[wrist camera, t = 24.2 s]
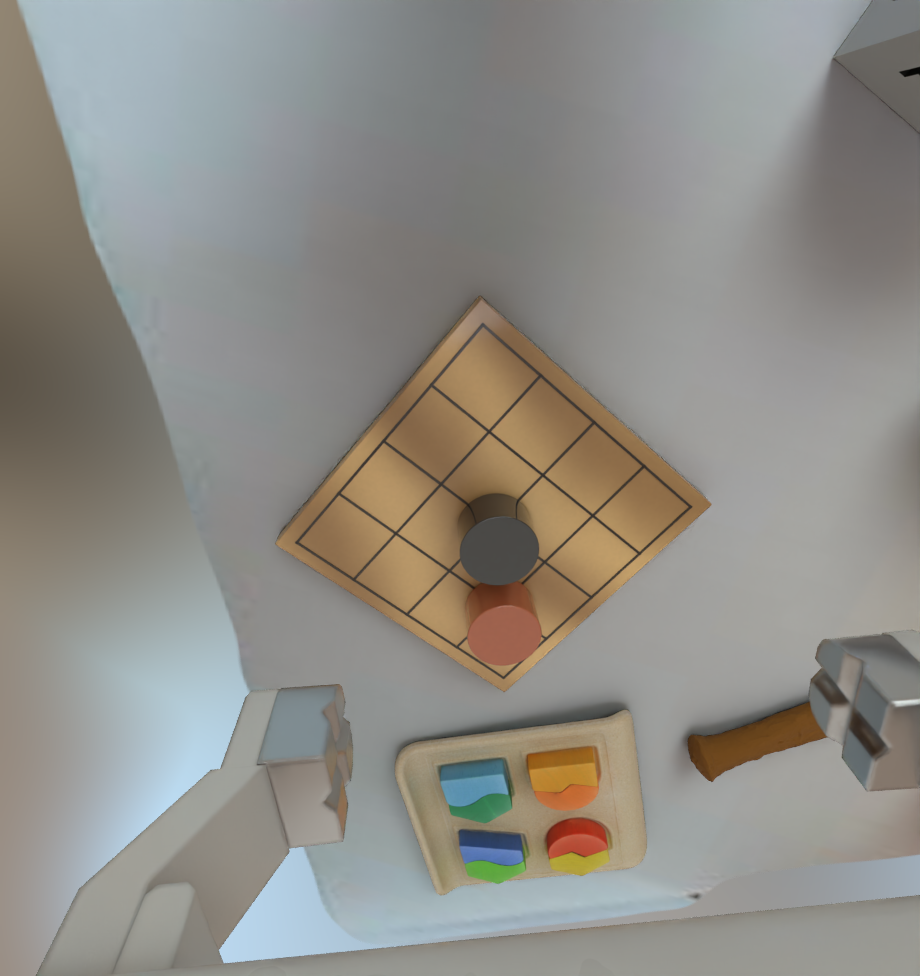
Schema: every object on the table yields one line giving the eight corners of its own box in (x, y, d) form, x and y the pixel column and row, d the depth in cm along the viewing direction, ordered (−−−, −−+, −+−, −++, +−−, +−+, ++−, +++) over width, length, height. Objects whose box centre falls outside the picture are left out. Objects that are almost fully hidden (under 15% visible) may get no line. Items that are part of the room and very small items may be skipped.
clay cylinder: (462, 580, 43) (464, 609, 40) (533, 574, 43) (541, 602, 40) (466, 638, 45) (470, 669, 42) (535, 632, 45) (542, 662, 42)
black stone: (491, 478, 40) (496, 501, 37) (546, 521, 41) (556, 547, 38) (441, 531, 41) (443, 557, 38) (496, 571, 43) (502, 599, 40)
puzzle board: (390, 743, 51) (388, 780, 47) (628, 697, 50) (642, 732, 47) (438, 881, 58) (439, 921, 55) (646, 843, 57) (658, 881, 54)
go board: (479, 295, 36) (481, 299, 35) (704, 496, 43) (712, 505, 41) (278, 535, 42) (274, 544, 41) (502, 681, 48) (504, 693, 47)
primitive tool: (922, 655, 49) (957, 687, 46) (925, 704, 52) (957, 739, 49) (679, 727, 51) (695, 762, 48) (691, 771, 54) (708, 808, 51)
